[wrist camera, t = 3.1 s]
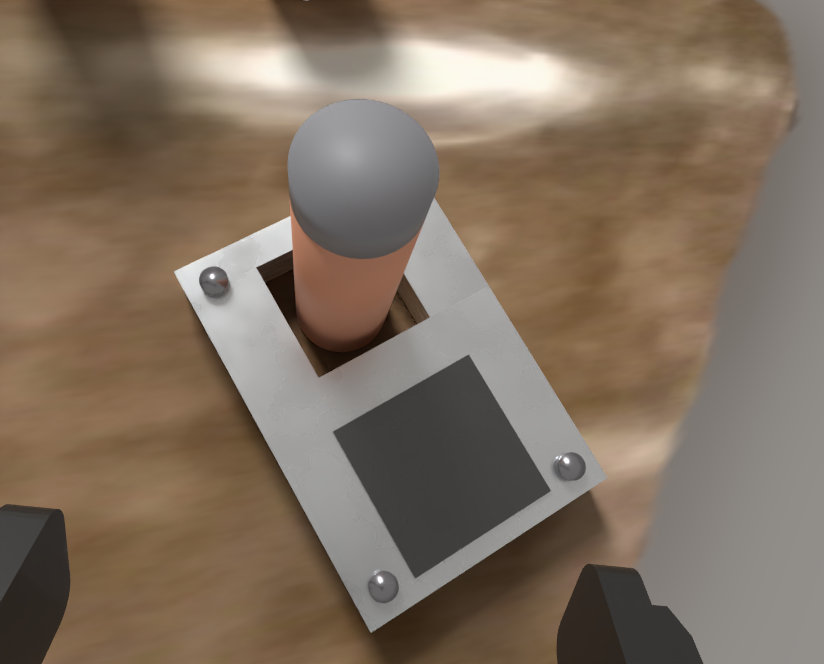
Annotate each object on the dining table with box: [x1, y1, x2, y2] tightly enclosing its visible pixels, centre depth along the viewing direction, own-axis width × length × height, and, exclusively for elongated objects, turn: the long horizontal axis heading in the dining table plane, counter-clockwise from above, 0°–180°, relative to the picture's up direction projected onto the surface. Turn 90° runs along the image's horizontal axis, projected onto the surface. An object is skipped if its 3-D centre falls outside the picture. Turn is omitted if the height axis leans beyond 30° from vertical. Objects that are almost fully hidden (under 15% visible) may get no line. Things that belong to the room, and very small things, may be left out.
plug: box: [288, 99, 439, 352], centre depth 32 cm, size 5×5×17 cm
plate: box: [174, 198, 607, 633], centre depth 37 cm, size 20×14×4 cm
